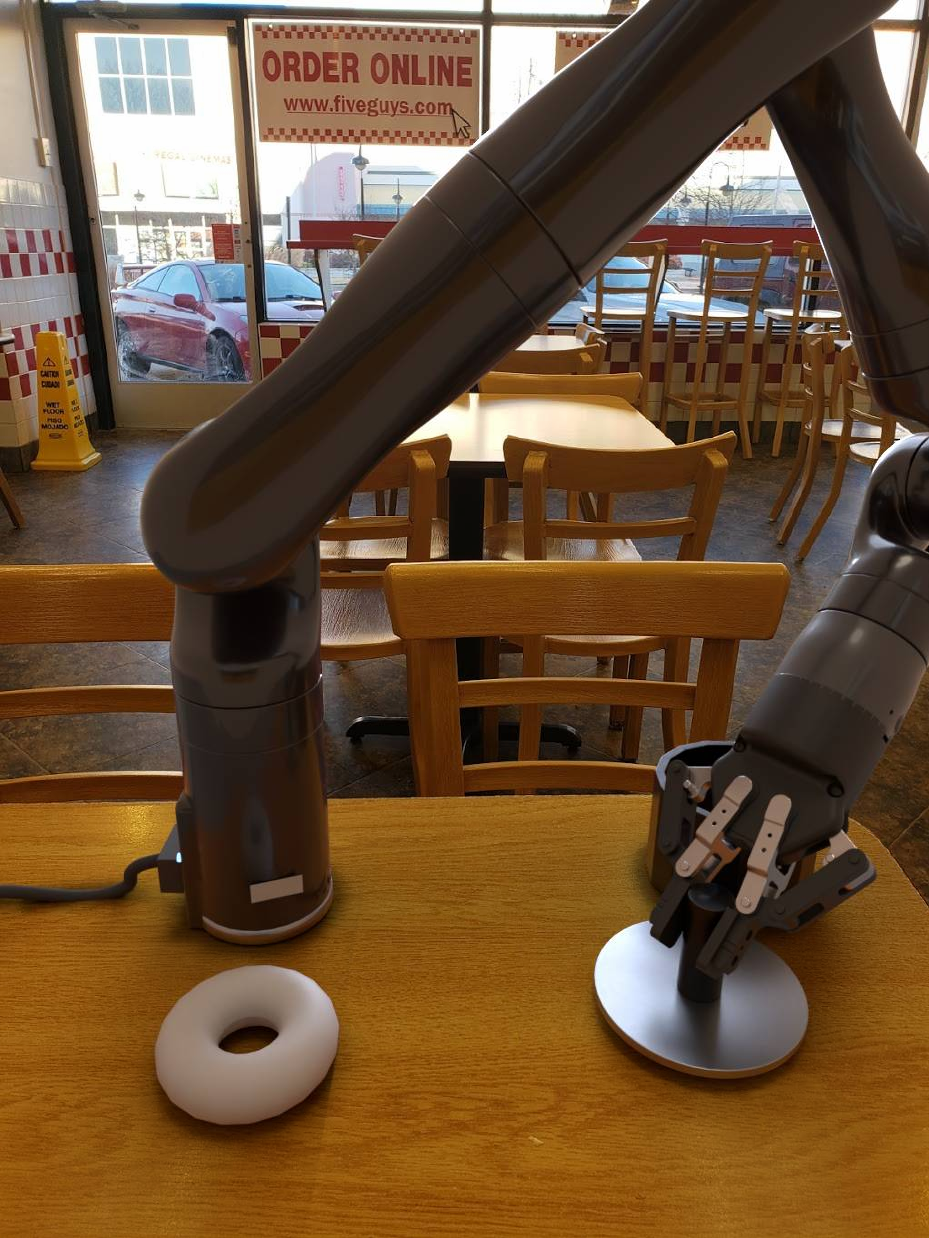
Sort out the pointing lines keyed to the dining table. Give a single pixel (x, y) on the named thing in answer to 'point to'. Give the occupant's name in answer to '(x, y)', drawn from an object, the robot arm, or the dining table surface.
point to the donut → (255, 1079)
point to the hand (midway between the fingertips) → (683, 956)
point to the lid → (700, 997)
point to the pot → (730, 872)
